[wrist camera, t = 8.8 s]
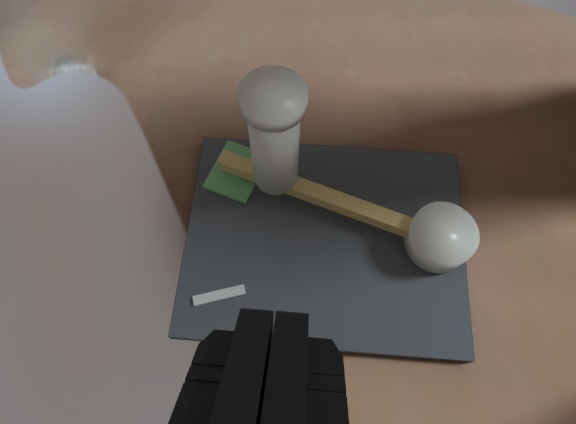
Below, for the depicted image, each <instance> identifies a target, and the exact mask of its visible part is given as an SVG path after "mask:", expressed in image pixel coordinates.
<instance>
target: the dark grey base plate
mask: <svg viewBox="0 0 576 424" xmlns="http://www.w3.org/2000/svg"><path fill="white" fill-rule="evenodd" d="M223 150H226V151H229V152H232V153H234V154H237V155H240V156H243V157H245V158H248V159H251V160H252V157H251V149H250V142H249V140H236V139H221V138H207V137H204V142H203V148H202V153H201V159H200V164H199V170H198V175H197V181H196V186H195V192H194V197H193V203H192V208H191V214H190V219H189V225H188V230H187V236H186V241H185V247H184V252H183V258H182V263H181V269H180V274H179V280H178V286H177V291H176V297H175V302H174V308H173V313H172V318H171V324H170V329H169V335H168V337H169V338H171V339H181V340H193V341H202V340H203V339H204V338H206V337H207V336H208V335H209V334H210V333H211V332H212V331H213V330H214V329H216V330H228V331H234V329H235V326H236V322H237V319H238V315H239V311H240V309H241V308H248V309H260V310H272V311H274V319H273V329H274V322H275V315H276V311H286V312H299V313H309V330H308V337H314V338H327V339H332V340H333V342H334V343H335V345H336V346H337V348H338V349H339V351H340V352H343V353H356V354H368V355H381V356H393V357H406V358H418V359H431V360H443V361H456V362H468V363H470V362H474V361H475V357H474V346H473V335H472V325H471V314H470V303H469V292H468V281H467V270H466V261H465V262H464V263H463V264H462V265H460V266H459V267H458V268H456V269H455V270H453V271H451V272H448V273H441V274H438V273H431V272H428V271H425V270H423V269H421V268H420V267H418V266H417V265H416V264H415V263H414V262H413V261H412V260H411V259H410V257H409V256H408V254H407V252H406V250H405V246H404V237H402V236H399V235H397V234H394V233H391V232H388V231H386V230H383V229H380V228H378V227H375V226H372V225H369V224H367V223H364V222H361V221H359V220H356V219H353V218H350V217H348V216H345V215H342V214H340V213H337V212H334V211H331V210H329V209H326V208H323V207H320V206H318V205H315V204H312V203H310V202H307V201H304V200H301V199H299V198H296V197H293V196H291V195H288V194H282V195H270V194H267V193H265V192H263V191H262V190H260V189H259V188H258V186H257V185H256V183H255V182H252V181H250V180H247V179H244V178H242V177H239V176H236V175H233V174H231V173H228V172H225V171H223V170H220V169H219V168H218V164H217V160H218V159H219V157H220V155H221V153H222V151H223ZM298 177H301V178H304V179H307V180H309V181H312V182H315V183H318V184H320V185H323V186H326V187H329V188H332V189H334V190H337V191H340V192H343V193H345V194H348V195H351V196H354V197H357V198H359V199H362V200H365V201H368V202H370V203H373V204H376V205H379V206H382V207H384V208H387V209H390V210H393V211H395V212H398V213H401V214H404V215H407V216H409V217H412V218H414V216H415V215H416V213H417V212H418V211H419V210H420V209H421V208H422V207H424V206H425V205H427V204H429V203H433V202H440V201H441V202H449V203H453V204H456V205H458V206H460V207H461V205H460V194H459V183H458V172H457V161H456V155H455V154H441V153H426V152H411V151H397V150H382V149H367V148H353V147H338V146H324V145H309V144H299V157H298Z"/></svg>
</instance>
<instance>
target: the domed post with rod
mask: <svg viewBox="0 0 576 424" xmlns="http://www.w3.org/2000/svg"><path fill="white" fill-rule="evenodd" d="M237 99H238V106H239V111H240V114H241V116H242V118H243V119H244V120H245V122H246V123H247V127H248V134H249V142H250V149H251V157H252V160H251V159H248V158H245V157H243V156H240V155H237V154H234V153H232V152H229V151H226V150H223V151H222V153H221V155H220V157H219V159H218V160H217V164H218V168H219V169H220V170H223V171H225V172H228V173H231V174H233V175H236V176H239V177H242V178H244V179H247V180H250V181H252V182H255V183H256V185H257V186H258V188H259V189H260V190H262V191H263V192H265V193H267V194H270V195H282V194H288V195H291V196H293V197H296V198H299V199H301V200H304V201H307V202H310V203H312V204H315V205H318V206H320V207H323V208H326V209H329V210H331V211H334V212H337V213H340V214H342V215H345V216H348V217H350V218H353V219H356V220H359V221H361V222H364V223H367V224H369V225H372V226H375V227H378V228H380V229H383V230H386V231H388V232H391V233H394V234H397V235H399V236H402V237H404V246H405V250H406V252H407V254H408V256H409V257H410V259H411V260H412V261H413V262H414V263H415V264H416V265H417V266H418V267H420V268H421V269H423V270H425V271H428V272H431V273H438V274H441V273H448V272H451V271H453V270H455V269H456V268H458V267H459V266H460V265H462V264H463V263H464V262H465V261H466V260H468V259H469V258H470V257H471V256H472V255H473V254H474V253H475V252H476V250H477V248H478V245H479V240H480V235H479V229H478V226H477V224H476V222H475V220H474V219H473V217H472V216H471V215H470V214H469V213H468V212H467V211H466V210H464V209H463V208H462V207H460V206H458V205H456V204H453V203H449V202H441V201H440V202H433V203H429V204H427V205H425V206H424V207H422V208H421V209H420V210H419V211H418V212H417V213H416V215H415V216H414V218H412V217H409V216H407V215H404V214H401V213H398V212H395V211H393V210H390V209H387V208H384V207H382V206H379V205H376V204H373V203H370V202H368V201H365V200H362V199H359V198H357V197H354V196H351V195H348V194H345V193H343V192H340V191H337V190H334V189H332V188H329V187H326V186H323V185H320V184H318V183H315V182H312V181H309V180H307V179H304V178H301V177H298V157H299V139H300V121H301V120H302V119H303V118H304V116H305V114H306V111H307V105H308V88H307V85H306V83H305V81H304V80H303V78H302V77H301V76H300V75H299V74H298V73H296V72H295V71H293V70H291V69H289V68H286V67H282V66H264V67H260V68H257V69H255V70H253V71H251V72H250V73H248V74H247V75H246V76H245V77H244V78H243V79H242V81H241V82H240V84H239V86H238V90H237Z"/></svg>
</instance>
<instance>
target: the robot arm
mask: <svg viewBox="0 0 576 424" xmlns="http://www.w3.org/2000/svg"><path fill="white" fill-rule="evenodd" d="M273 319H274V311H272V310H260V309H248V308H241V309H240V311H239V315H238V319H237V322H236V326H235V329H234V331H228V330H216V329H214V330H213V331H212V332H211V333H210V334H209V335H208V336H207V337H206V338H204V339H203V340H202V341H201V342H200V343H199V344H198V347H197V350H196V352H195V355H194V358H193V360H192V364H191V367H190V368H189V371H188V373H187V376H186V378H185V383H184V384H183V386H182V389H181V392H180V394H179V397H178V399H177V402H176V405H175V407H174V410H173V412H172V415H171V418H170V420H169V423H168V424H349V418H348V407H347V396H346V385H345V374H344V363H343V355H342V354H341V352H340V351H339V349H338V348H337V346H336V345H335V343H334V342H333V340H332V339H327V338H314V337H308V330H309V313H299V312H286V311H276V315H275V322H274V329H273Z"/></svg>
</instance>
